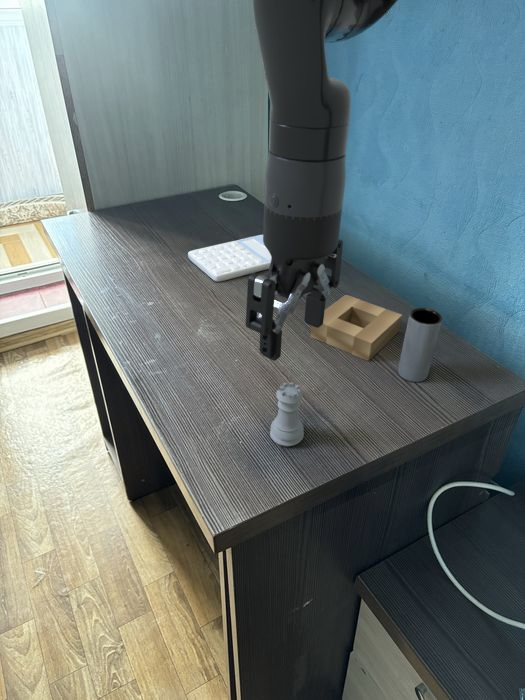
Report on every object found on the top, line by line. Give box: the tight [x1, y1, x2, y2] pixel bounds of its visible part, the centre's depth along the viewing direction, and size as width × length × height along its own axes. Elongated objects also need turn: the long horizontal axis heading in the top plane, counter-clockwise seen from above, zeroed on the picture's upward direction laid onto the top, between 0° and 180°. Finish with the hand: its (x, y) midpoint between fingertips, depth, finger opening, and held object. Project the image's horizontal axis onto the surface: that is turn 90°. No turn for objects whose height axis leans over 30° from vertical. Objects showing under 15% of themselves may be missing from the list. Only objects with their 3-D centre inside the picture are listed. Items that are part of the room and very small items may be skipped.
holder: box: [310, 294, 403, 362], centre depth 87 cm, size 11×11×4 cm
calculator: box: [187, 234, 271, 282], centre depth 110 cm, size 13×20×2 cm, turn 122°
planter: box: [397, 307, 443, 383], centre depth 76 cm, size 4×4×10 cm
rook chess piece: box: [269, 381, 305, 448], centre depth 65 cm, size 4×4×8 cm
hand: (293, 339), depth 59 cm, fingers open, 8 cm apart
